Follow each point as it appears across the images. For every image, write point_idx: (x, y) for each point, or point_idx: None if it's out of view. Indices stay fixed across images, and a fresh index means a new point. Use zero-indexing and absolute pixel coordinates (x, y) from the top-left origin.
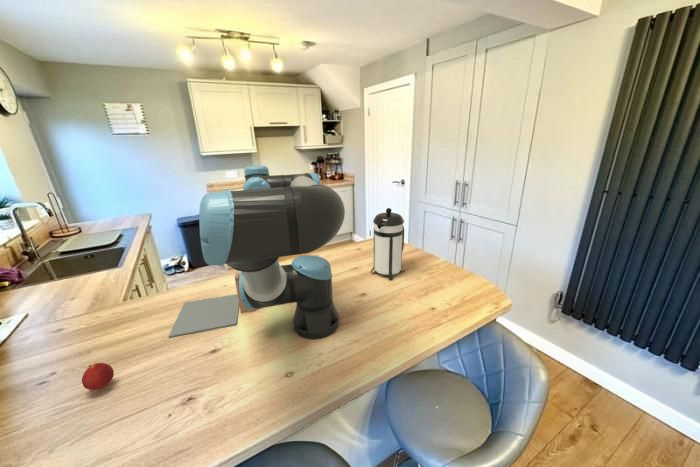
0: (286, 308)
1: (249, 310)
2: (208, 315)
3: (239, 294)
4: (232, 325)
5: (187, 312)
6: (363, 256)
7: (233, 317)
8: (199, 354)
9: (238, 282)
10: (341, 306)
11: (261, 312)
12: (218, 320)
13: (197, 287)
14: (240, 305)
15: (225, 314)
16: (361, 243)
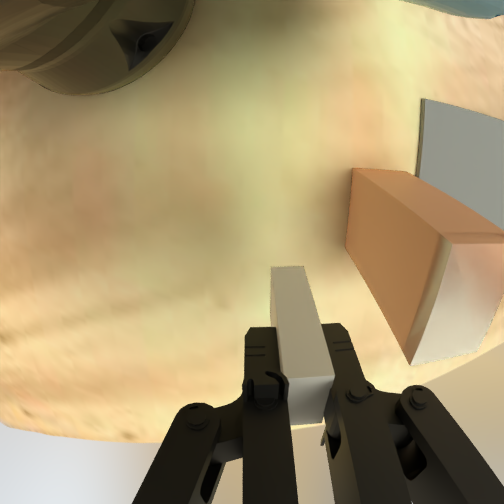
0: (214, 140)
1: (378, 171)
2: (491, 198)
3: (450, 199)
4: (434, 101)
5: None
6: (5, 381)
7: (434, 145)
8: (491, 18)
9: (490, 228)
10: (12, 115)
11: (329, 145)
12: (473, 151)
13: (470, 360)
14: (422, 181)
15: (454, 180)
16: (31, 428)
